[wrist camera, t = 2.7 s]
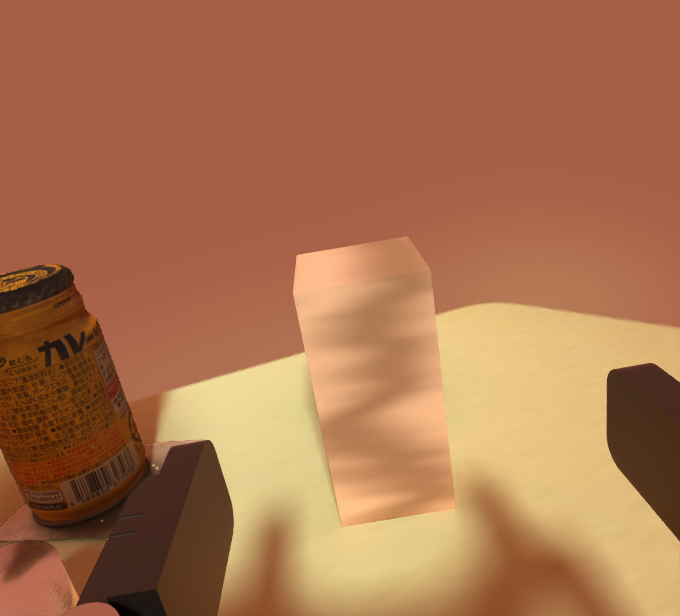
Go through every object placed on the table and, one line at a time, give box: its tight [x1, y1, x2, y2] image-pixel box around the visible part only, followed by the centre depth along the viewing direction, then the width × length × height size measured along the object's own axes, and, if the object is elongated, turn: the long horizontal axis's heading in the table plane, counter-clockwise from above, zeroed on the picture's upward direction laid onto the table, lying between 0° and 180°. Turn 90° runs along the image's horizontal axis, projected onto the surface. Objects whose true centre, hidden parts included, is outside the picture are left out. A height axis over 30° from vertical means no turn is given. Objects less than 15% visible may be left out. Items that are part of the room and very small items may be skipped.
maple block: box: [293, 236, 455, 527], centre depth 23 cm, size 5×5×11 cm
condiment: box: [0, 265, 204, 541], centre depth 26 cm, size 7×8×12 cm
